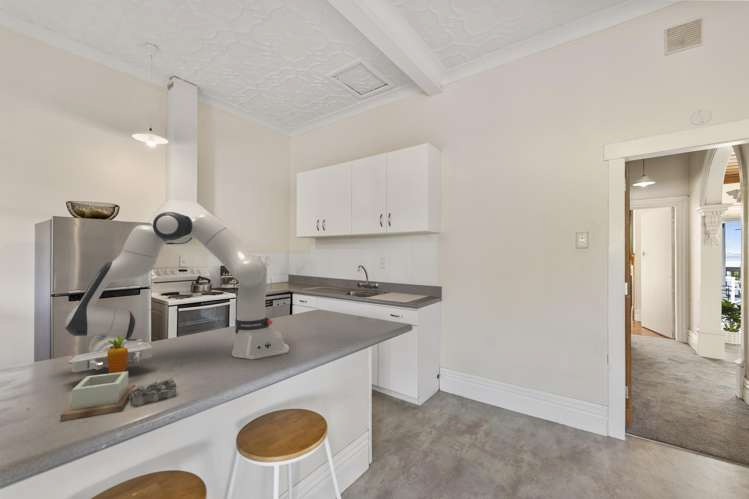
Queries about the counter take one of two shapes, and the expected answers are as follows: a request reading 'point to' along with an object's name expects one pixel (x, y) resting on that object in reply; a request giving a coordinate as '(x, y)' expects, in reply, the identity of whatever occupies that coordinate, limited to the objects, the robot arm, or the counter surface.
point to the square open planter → (100, 390)
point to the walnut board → (97, 408)
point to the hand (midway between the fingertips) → (118, 362)
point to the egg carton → (152, 392)
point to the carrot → (117, 356)
